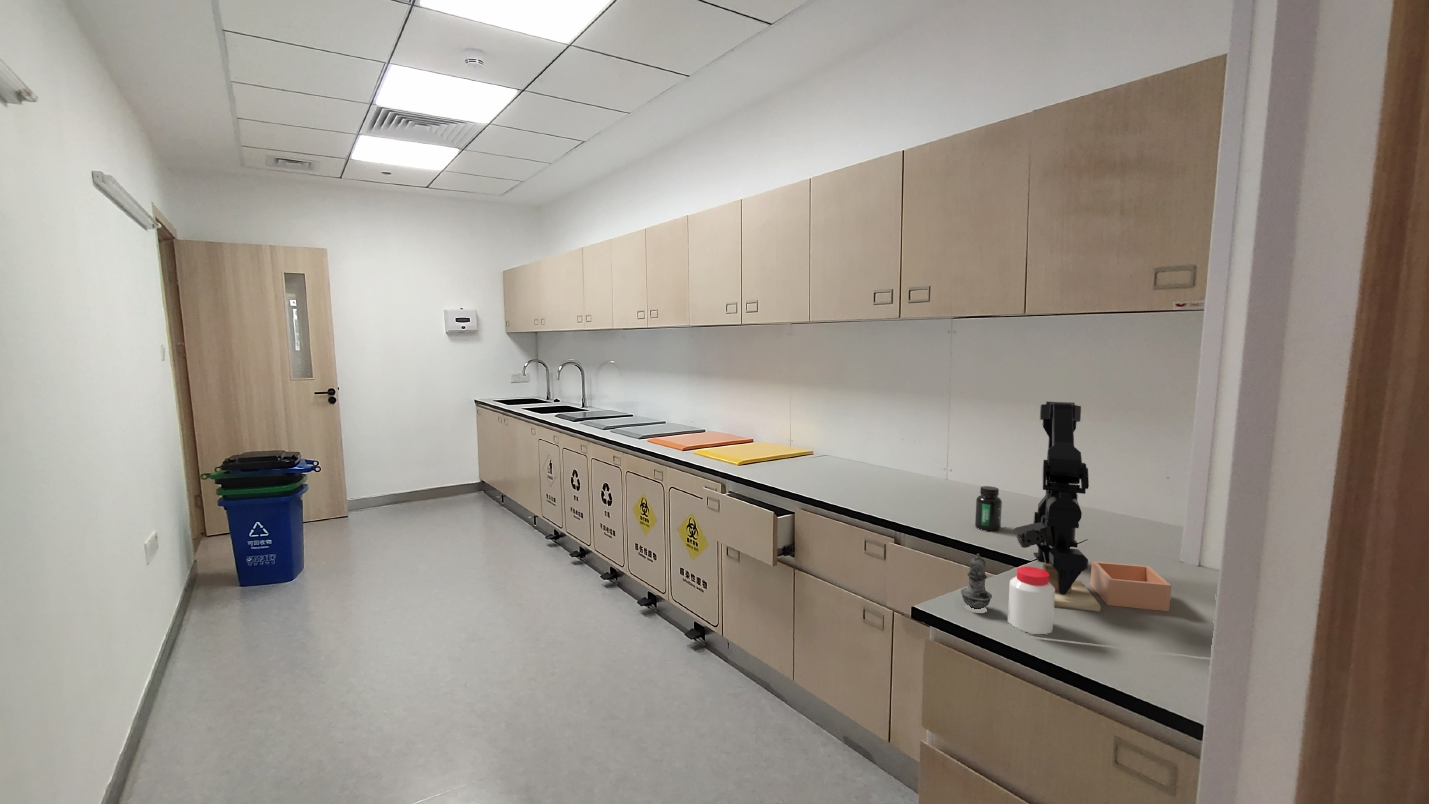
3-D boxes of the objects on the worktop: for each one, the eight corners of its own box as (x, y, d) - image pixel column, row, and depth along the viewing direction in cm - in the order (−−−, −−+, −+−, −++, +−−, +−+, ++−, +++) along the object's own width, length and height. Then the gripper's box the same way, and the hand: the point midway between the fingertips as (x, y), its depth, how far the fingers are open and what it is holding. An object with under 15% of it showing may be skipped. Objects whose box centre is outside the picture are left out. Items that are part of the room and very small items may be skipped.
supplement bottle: (987, 533, 175) (989, 491, 174) (969, 526, 182) (971, 486, 180) (1005, 530, 178) (1008, 489, 177) (987, 523, 184) (989, 484, 183)
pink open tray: (1090, 587, 138) (1091, 561, 137) (1146, 592, 135) (1148, 566, 134) (1107, 607, 127) (1109, 579, 127) (1168, 614, 124) (1171, 585, 124)
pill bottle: (1038, 617, 122) (1041, 564, 121) (1061, 636, 114) (1065, 579, 113) (999, 618, 122) (1002, 564, 121) (1020, 637, 114) (1023, 579, 113)
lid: (1016, 580, 140) (1017, 553, 139) (1080, 586, 136) (1082, 559, 136) (1029, 603, 127) (1030, 574, 127) (1100, 611, 124) (1102, 581, 123)
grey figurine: (965, 601, 129) (967, 546, 128) (994, 609, 126) (997, 552, 124) (955, 611, 125) (958, 553, 123) (986, 619, 121) (989, 560, 120)
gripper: (1010, 500, 141) (1007, 566, 143) (1028, 524, 123) (1024, 599, 125) (1064, 504, 138) (1060, 571, 140) (1091, 528, 120) (1086, 605, 122)
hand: (1056, 585), depth 132 cm, fingers open, 9 cm apart
